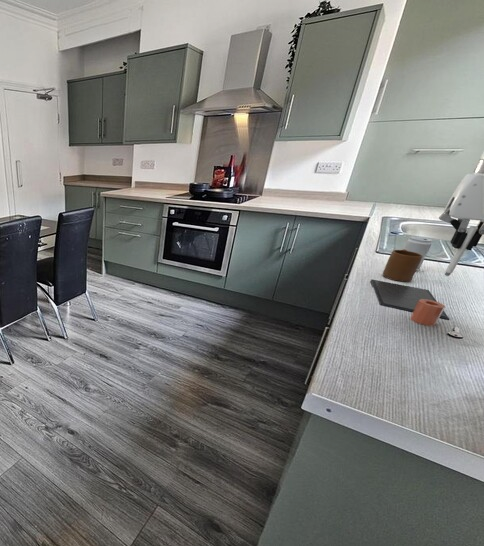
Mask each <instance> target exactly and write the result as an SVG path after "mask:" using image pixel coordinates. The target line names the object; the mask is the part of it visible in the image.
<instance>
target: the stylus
mask: <svg viewBox="0 0 484 546" xmlns="http://www.w3.org/2000/svg"><path fill="white" fill-rule="evenodd" d="M477 229H478V227H476V226H475V225H474V226H473V225H470V226H469V227H468V230H467V231H466V233H467V236H466V238H465V240H464V242H463V244H462V246H461V248H459V249H456V251H455V253H454V255H453V257H452V258H451V259H450V262H449V264H448V265H447V267H446V269H445V272H444V276H446V277H450V276H451V274H453V272H454V271H455V269H456V268H457V265H458V264H459V263H460V260H461V258H462V257H463V255H464V254H465V251H467V249H466V248H467V246H468V244H469V243H470V241H471V239H472V237H473V236H474V234H475V232H476V230H477Z"/></svg>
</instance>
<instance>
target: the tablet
mask: <svg viewBox="0 0 484 546" xmlns="http://www.w3.org/2000/svg"><path fill="white" fill-rule="evenodd" d="M370 284H371V287H372V288H373V290H374V294H375V295H376V299H377V302H378V304H379V306H381V307H386V308H390V309H394V310H395V309H396V310H399V311H403V312H404V311H405V312H409V313H413V311H414V309H415V307H416V305H417V303H418V301H419V300H420V299H427V300H432V301H436V302H438V301H437V300H436V298H435V297H434V295H433V294H432V292H431V291H430V290H429V289H425V288H419V287H415V286H409V285H404V284H399V283H393V282H388V281H383V280H377V279H372V278H371V279H370ZM439 319H441V320H446V321H450V319H451V318H450V317H449V316H448V314H447V313H446V312H445V309H444V310H443V312H442V314H441V316H440V317H439Z"/></svg>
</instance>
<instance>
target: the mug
mask: <svg viewBox="0 0 484 546" xmlns="http://www.w3.org/2000/svg"><path fill="white" fill-rule="evenodd" d="M421 259H422V255H421V254H418V253H415V252H411V251H407V250H405V249H404V248H403V249H394V250H392V252H391V253H390V254H389V258H388V260H387V262H386V264H385V265H384V269H383V271H382V276H384V278H387V279H389V280H392V281H396V282H403V283H404V282H405V283H406V282H407V283H408V282H411V281H412V280H413V278H414V276H415V274H416V272H417V271H418V270H417V268H418V266H419V264H420V261H421Z"/></svg>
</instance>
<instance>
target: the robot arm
mask: <svg viewBox="0 0 484 546" xmlns="http://www.w3.org/2000/svg"><path fill="white" fill-rule="evenodd" d="M438 219H439V220H440V221H442V222H443V223H447V224H450V225H451V226H452V227H453V228H454V230H455V231H454V233H453V235H452V237H451V239H450V244H451V247H452V248H454V249H455V250H457V249H459V248H461V246H462V244H463V242H464V240H465V238H466V236H467V231H468V230H467V228H468V227H469V223H470V221H478V223H477V224H476V226H475V227H478V229H477V230H476V232H475V234H474V236H473V237H472V239H471V241H470V243H469V244H468V246H467V248H466V251H472V250H473V248H474V247H477V246H478V244H479V242H480V240H481V238H482V237H483V235H484V150H483V151H482V153H481V155H480V157H479V160H478V161H477V164H476V165H475V168H474V169H473V171H472V173H466V174H465V175H464V177H463V178H462V179H461V181H460V182H459V183H458V185H457V187H456V188H455V190H454V191H453V194H452V195H451V196H450V198H449V200H448V202H447V204H446V205H445V208H444V211H443V212H442V213H441V215H440V216H438Z"/></svg>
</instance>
